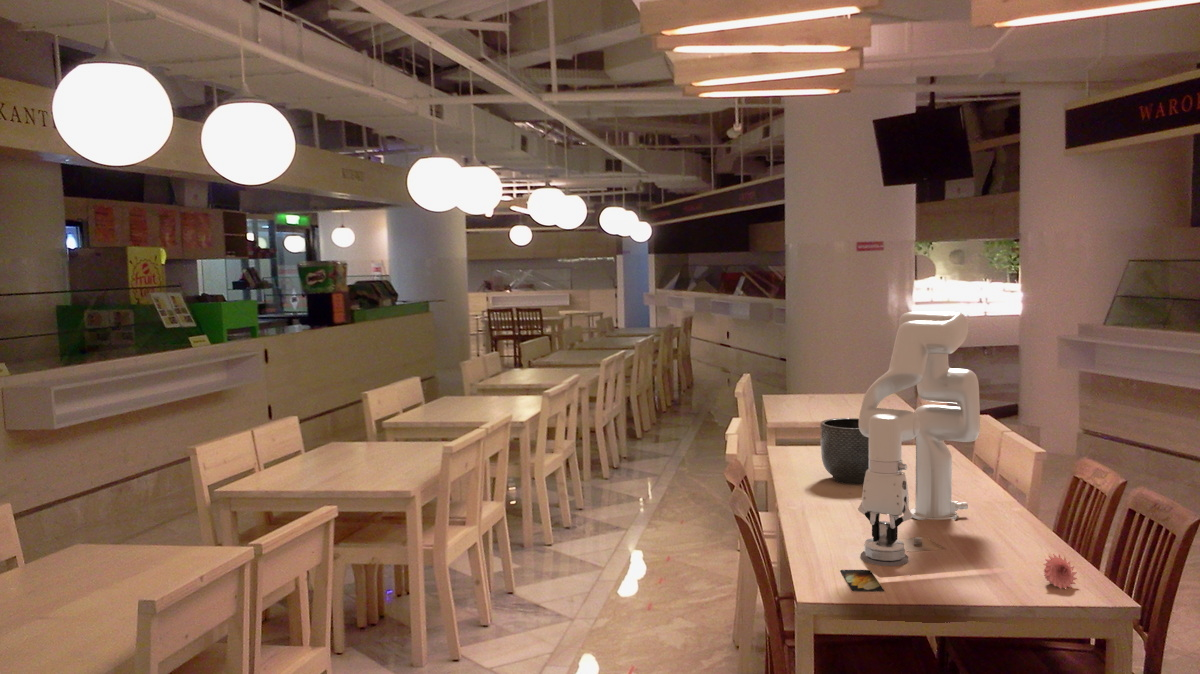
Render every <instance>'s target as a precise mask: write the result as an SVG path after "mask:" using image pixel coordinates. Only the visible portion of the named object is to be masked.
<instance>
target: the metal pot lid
mask: <svg viewBox="0 0 1200 674" xmlns="http://www.w3.org/2000/svg"><path fill="white" fill-rule="evenodd" d="M860 559H861V560H862V561H863V562H865V563H869V564H872V565H876V566H881V567H884V566H886V567H887V566H888V567H895V566H896V567H897V566H901V565H906V564H908V562H909V556H908V555H907V554H906V553H905V557H904V558H902V559H901V560H894V561H882V560H877V559H872V558H870V557H868V556H866V555H865V550H863V551H861V553H860Z"/></svg>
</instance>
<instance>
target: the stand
mask: <svg viewBox="0 0 1200 674" xmlns="http://www.w3.org/2000/svg"><path fill="white" fill-rule="evenodd" d="M897 540H899V541H901V542H903V543H904V548H905V551H907V552H909V553H914V552H915V553H917V552H928V551H929V552H930V551H942V550H947V548H946V547H944V546H942V545H940V544H939V543H937V542H936V541H934V540H932V539H930V538H928V537H927V536H925V537H924V536H923V537H921V536H920V537H919V536H914V537H913V538H912V537H911V538H899V539H898V538H897Z"/></svg>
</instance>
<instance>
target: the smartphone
mask: <svg viewBox="0 0 1200 674" xmlns="http://www.w3.org/2000/svg"><path fill="white" fill-rule="evenodd" d="M839 572H840V573H841V576H842V577H843V579H844V581H845V583H846V584H847V586H848V588H849V590H850V591H851V593H853V594H884V593H885V592H886V591H885V590H884V587H883V586H882V585H881V583H880V582H879V581H878V579H877V578H876V576H875V575H874V573H873V571H871V570H870V569H841V570H839Z"/></svg>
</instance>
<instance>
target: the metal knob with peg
mask: <svg viewBox="0 0 1200 674" xmlns="http://www.w3.org/2000/svg"><path fill="white" fill-rule="evenodd" d="M888 528H890V521H886V520H881V521H880V520H879V522H878V541H876V542H875V541H873V537H872V538H868V539H866V540H865V542H864V551H865V555H866V556H868V557H870V558H872V559H877V560H882V561H894V560H901V559H902V558H904V557H905V554H906V552H905V551H906V550H905V548H904V543H903V542H901V541H899V540H896V542H895V543H893V544H891V545H890V544H888Z"/></svg>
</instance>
